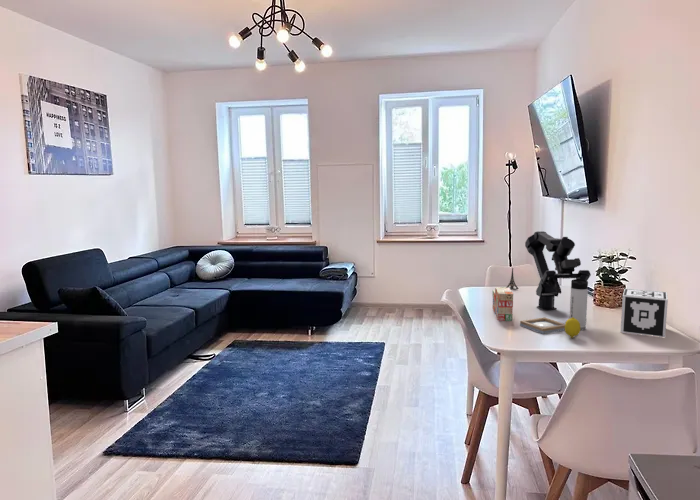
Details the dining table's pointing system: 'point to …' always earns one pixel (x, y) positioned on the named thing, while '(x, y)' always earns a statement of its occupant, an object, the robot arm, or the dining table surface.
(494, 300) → the stack of blocks
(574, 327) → the lemon
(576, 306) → the travel mug
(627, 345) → the dining table surface
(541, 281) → the robot arm
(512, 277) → the eiffel tower figurine
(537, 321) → the square wooden frame
